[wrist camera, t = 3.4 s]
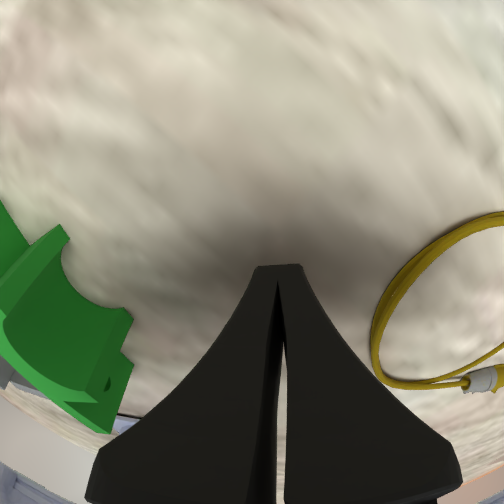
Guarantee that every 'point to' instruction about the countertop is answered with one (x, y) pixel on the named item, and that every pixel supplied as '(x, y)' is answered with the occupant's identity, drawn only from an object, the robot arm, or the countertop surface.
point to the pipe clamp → (59, 330)
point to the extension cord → (405, 278)
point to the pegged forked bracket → (16, 379)
